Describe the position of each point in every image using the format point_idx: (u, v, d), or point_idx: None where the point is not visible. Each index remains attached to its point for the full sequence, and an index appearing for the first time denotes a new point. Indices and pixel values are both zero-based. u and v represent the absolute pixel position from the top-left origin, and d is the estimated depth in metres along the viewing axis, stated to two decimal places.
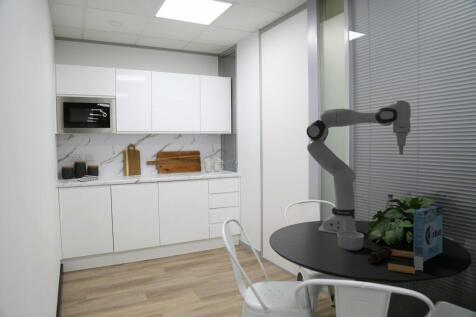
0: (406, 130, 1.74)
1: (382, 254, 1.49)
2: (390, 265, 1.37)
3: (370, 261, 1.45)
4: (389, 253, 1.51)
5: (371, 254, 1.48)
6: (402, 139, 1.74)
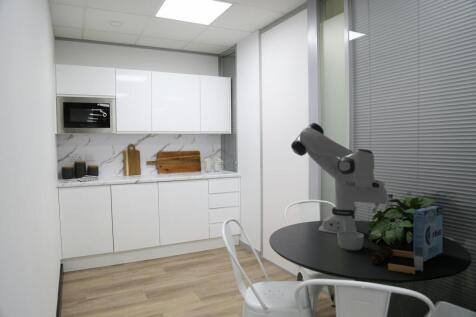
0: (384, 185, 1.53)
1: (384, 254, 1.49)
2: (390, 265, 1.37)
3: (374, 262, 1.44)
4: (390, 253, 1.51)
5: (374, 255, 1.47)
6: (386, 195, 1.51)
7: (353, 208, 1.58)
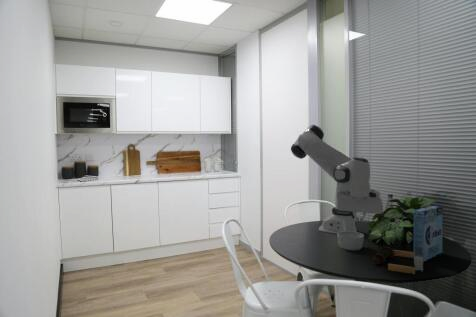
0: None
1: (386, 254, 1.48)
2: (390, 265, 1.37)
3: (376, 262, 1.43)
4: (391, 253, 1.51)
5: (376, 255, 1.46)
6: (382, 205, 1.48)
7: (356, 219, 1.53)
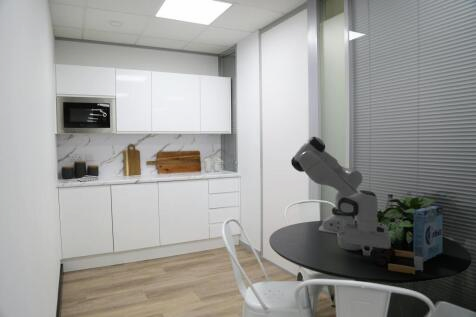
0: None
1: (389, 255, 1.48)
2: (390, 265, 1.37)
3: (382, 263, 1.42)
4: (393, 253, 1.51)
5: (380, 256, 1.45)
6: (390, 239, 1.47)
7: (364, 253, 1.51)
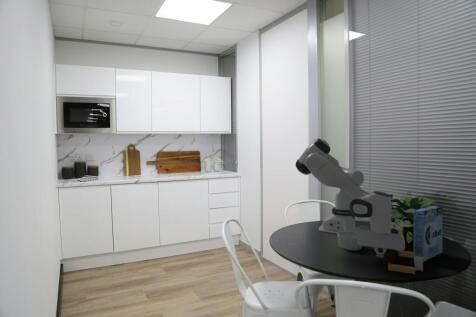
0: (401, 229, 1.47)
1: (393, 255, 1.47)
2: (390, 265, 1.37)
3: (387, 264, 1.41)
4: (396, 253, 1.51)
5: (385, 256, 1.44)
6: (404, 241, 1.45)
7: (378, 255, 1.49)
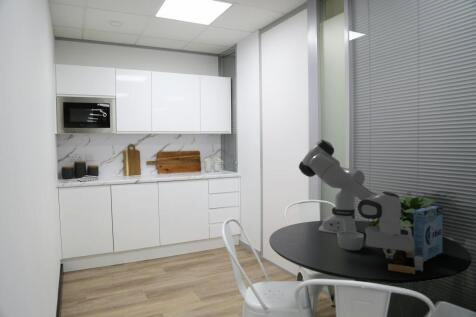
0: None
1: (402, 256, 1.46)
2: (390, 265, 1.37)
3: None
4: (404, 254, 1.50)
5: (396, 258, 1.43)
6: None
7: (387, 256, 1.47)
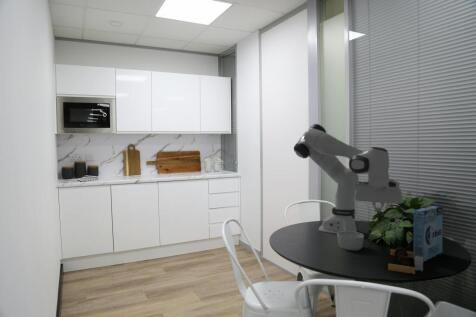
0: None
1: (405, 256, 1.46)
2: (390, 265, 1.37)
3: None
4: (406, 254, 1.50)
5: (401, 258, 1.42)
6: None
7: (376, 209, 1.51)
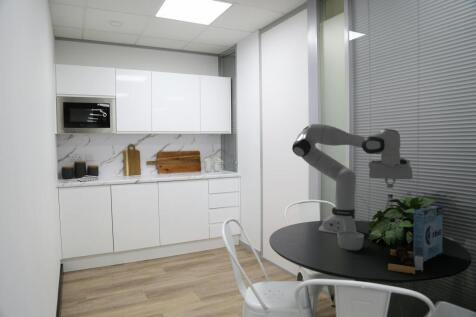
0: None
1: (407, 256, 1.46)
2: (390, 265, 1.37)
3: (410, 266, 1.38)
4: (406, 253, 1.51)
5: (404, 258, 1.42)
6: None
7: (388, 185, 1.67)
